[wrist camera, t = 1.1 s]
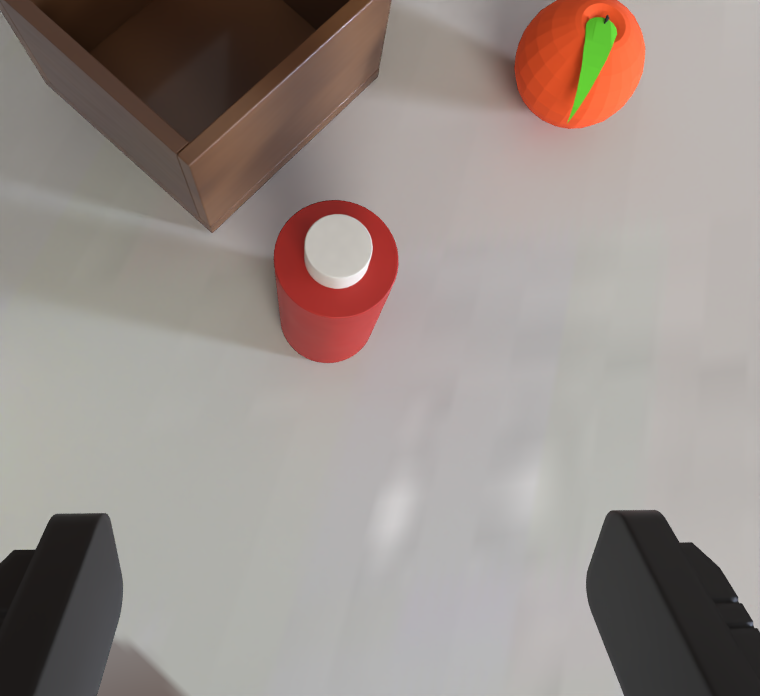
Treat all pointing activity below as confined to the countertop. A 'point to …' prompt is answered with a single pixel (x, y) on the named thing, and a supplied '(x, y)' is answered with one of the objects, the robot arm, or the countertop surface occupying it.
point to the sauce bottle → (333, 278)
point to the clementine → (579, 61)
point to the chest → (205, 81)
